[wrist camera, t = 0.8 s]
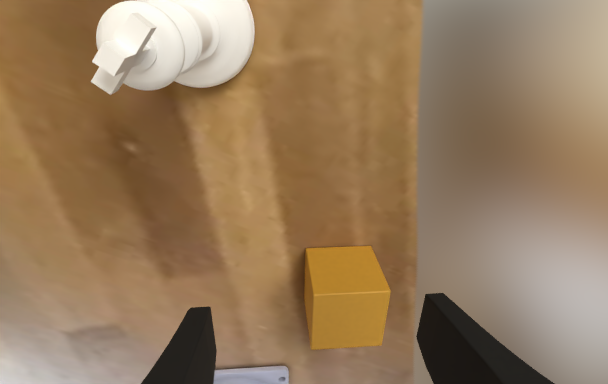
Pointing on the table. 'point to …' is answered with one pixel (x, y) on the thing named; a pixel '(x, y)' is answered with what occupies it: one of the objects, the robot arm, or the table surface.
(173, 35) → the chess piece
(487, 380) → the robot arm
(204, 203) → the table surface
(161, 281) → the table surface
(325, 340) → the cube
